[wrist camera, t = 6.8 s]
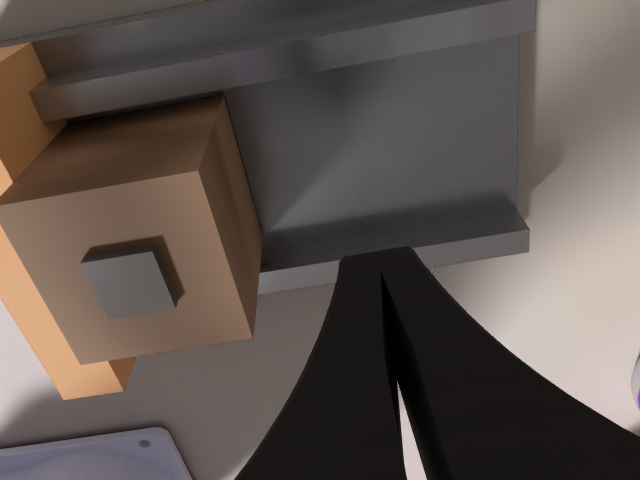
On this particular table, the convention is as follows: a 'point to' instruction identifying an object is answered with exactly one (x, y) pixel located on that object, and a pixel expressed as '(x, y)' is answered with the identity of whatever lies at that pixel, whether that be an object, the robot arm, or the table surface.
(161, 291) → the sliding block
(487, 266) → the table surface
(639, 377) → the supplement bottle
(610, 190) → the table surface
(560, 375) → the table surface
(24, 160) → the block
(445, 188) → the gray metal tray
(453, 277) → the table surface
